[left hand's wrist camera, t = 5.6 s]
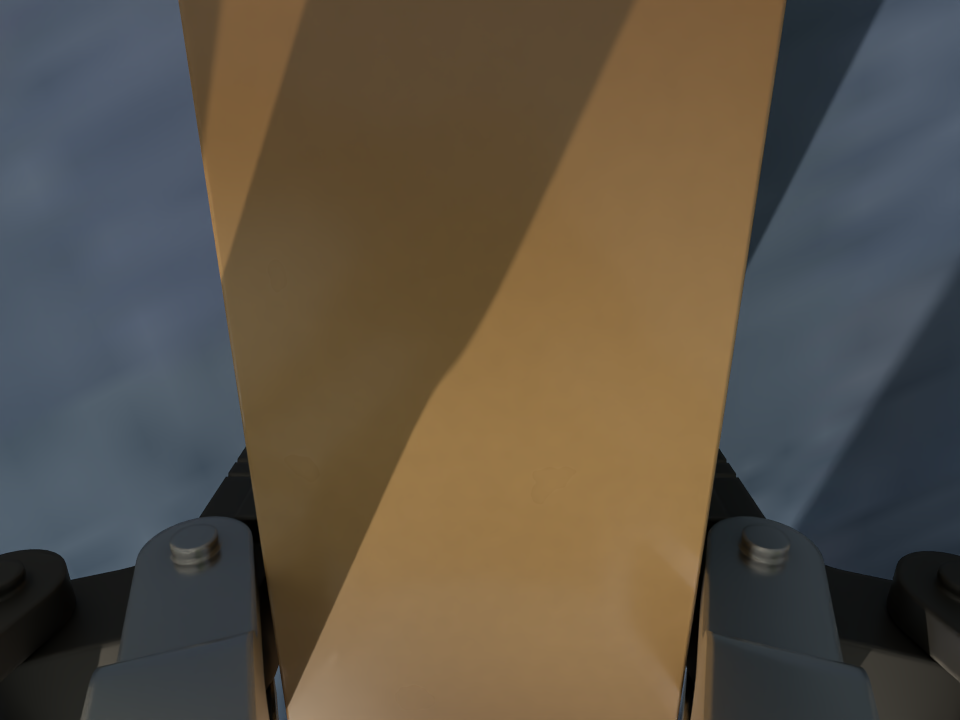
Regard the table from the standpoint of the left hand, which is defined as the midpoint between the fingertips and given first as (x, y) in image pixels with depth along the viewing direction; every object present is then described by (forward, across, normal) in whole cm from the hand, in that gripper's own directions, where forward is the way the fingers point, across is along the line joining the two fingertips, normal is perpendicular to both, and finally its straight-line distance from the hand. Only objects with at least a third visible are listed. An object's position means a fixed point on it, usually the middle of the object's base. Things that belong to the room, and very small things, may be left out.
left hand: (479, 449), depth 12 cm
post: (+4, 0, -24) cm, 24 cm away
